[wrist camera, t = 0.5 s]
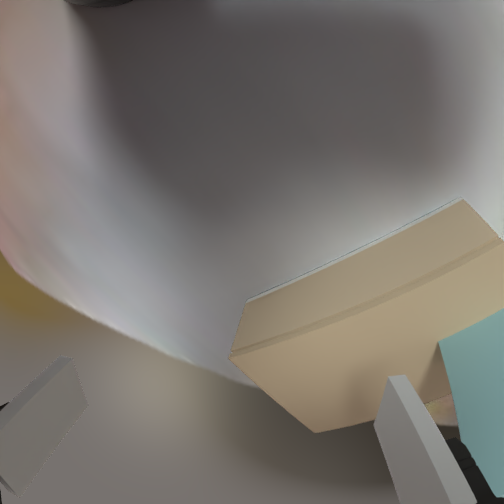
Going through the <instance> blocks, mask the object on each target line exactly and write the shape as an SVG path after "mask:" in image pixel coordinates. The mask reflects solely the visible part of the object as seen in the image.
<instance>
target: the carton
mask: <svg viewBox="0 0 504 504" xmlns="http://www.w3.org/2000/svg"><path fill="white" fill-rule="evenodd" d="M497 239H499V238H498V235H497V234H496V232H495V231H494V230H493V229H492V228H491V227H490V226H489V225H488V224H487V223H486V222H485V221H484V220H483V218H482V217H481V216H480V215H479V214H478V213H477V212H476V211H475V210H474V209H473V208H472V207H471V206H470V205H469V204H468V203H467V202H466V201H465V200H463V199H462V198H461V197H459V198H457V199H455V200H454V201H452V202H450V203H448V204H446V205H444V206H442V207H440V208H439V209H437V210H435V211H433V212H431V213H429V214H427V215H425V216H423V217H421V218H419V219H417V220H415V221H414V222H412V223H410V224H408V225H406V226H404V227H402V228H400V229H398V230H396V231H394V232H392V233H390V234H388V235H386V236H384V237H382V238H380V239H378V240H376V241H374V242H372V243H369V244H367V245H365V246H363V247H361V248H359V249H357V250H355V251H353V252H351V253H349V254H347V255H345V256H342V257H340V258H338V259H336V260H334V261H332V262H330V263H328V264H325V265H323V266H321V267H319V268H317V269H315V270H313V271H310V272H308V273H306V274H304V275H302V276H299V277H297V278H295V279H293V280H291V281H288V282H286V283H284V284H282V285H279V286H277V287H275V288H273V289H270V290H268V291H266V292H264V293H261V294H259V295H257V296H254V297H252V298H250V299H248V300H247V301H246V304H245V307H244V310H243V313H242V317H241V320H240V323H239V326H238V329H237V332H236V336H235V339H234V342H233V345H232V348H231V351H232V352H236V351H240V350H243V349H246V348H249V347H252V346H255V345H258V344H261V343H265V342H268V341H271V340H273V339H276V338H279V337H282V336H285V335H288V334H291V333H294V332H296V331H299V330H302V329H305V328H307V327H310V326H313V325H315V324H318V323H321V322H323V321H326V320H329V319H331V318H334V317H336V316H339V315H341V314H344V313H346V312H349V311H351V310H354V309H356V308H358V307H361V306H363V305H366V304H368V303H370V302H373V301H375V300H377V299H380V298H382V297H384V296H386V295H389V294H391V293H393V292H395V291H398V290H400V289H402V288H404V287H406V286H408V285H411V284H413V283H415V282H417V281H419V280H421V279H423V278H425V277H427V276H429V275H431V274H433V273H435V272H437V271H439V270H441V269H443V268H445V267H447V266H449V265H451V264H453V263H455V262H457V261H459V260H461V259H463V258H465V257H466V256H468V255H470V254H472V253H474V252H476V251H477V250H479V249H481V248H483V247H485V246H486V245H488V244H490V243H492V242H493V241H495V240H497Z"/></svg>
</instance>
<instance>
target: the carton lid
mask: <svg viewBox="0 0 504 504" xmlns="http://www.w3.org/2000/svg"><path fill="white" fill-rule="evenodd" d="M228 359H229V360H230V361H231V362H232V363H233V364H234V365H236V366H237V367H238V368H239V369H240V370H241V371H242V372H243V373H244V374H245V375H246V376H248V377H249V378H250V379H251V380H252V381H253V382H254V383H255V384H256V385H258V386H259V387H260V388H261V389H262V390H263V391H264V392H266V393H267V394H268V395H269V396H270V397H271V398H273V399H274V400H275V401H276V402H277V403H278V404H280V405H281V406H282V407H283V408H284V409H286V410H287V411H288V412H289V413H290V414H292V415H293V416H294V417H295V418H297V419H298V420H299V421H300V422H301V423H303V424H304V425H305V426H306V427H308V428H309V429H310V430H311V431H313V432H314V433H318V432H323V431H329V430H333V429H338V428H343V427H347V426H352V425H356V424H360V423H364V422H367V421H371V420H375V419H376V416H377V413H378V410H379V407H380V403H381V400H382V397H383V393H384V390H385V386H386V383H387V379H388V376H396V375H404V374H405V375H406V377H407V378H408V380H409V381H410V383H411V385H412V386H413V388H414V389H415V391H416V393H417V394H418V396H419V397H420V399H421V401H422V402H423V404H425V403H428V402H431V401H433V400H436V399H439V398H441V397H444V396H446V395H449V394H451V393H452V397H453V401H454V406H455V410H456V415H457V420H458V426H459V431H460V437H461V442H462V443H463V444H465V445H466V447H467V448H468V450H469V452H470V453H471V455H472V456H471V457H473V458H474V460H475V462H476V466H477V465H478V467H479V469H480V470H481V472H482V474H483V476H484V477H485V479H486V481H487V483H488V485H489V486H490V488H491V490H492V492H493V493H494V495H495V496H496V497H503V498H504V241H503V240H502V239H501V238H499V239H497V240H495V241H493V242H492V243H490V244H488V245H486V246H485V247H483V248H481V249H479V250H477V251H476V252H474V253H472V254H470V255H468V256H466V257H465V258H463V259H461V260H459V261H457V262H455V263H453V264H451V265H449V266H447V267H445V268H443V269H441V270H439V271H437V272H435V273H433V274H431V275H429V276H427V277H425V278H423V279H421V280H419V281H417V282H415V283H413V284H411V285H408V286H406V287H404V288H402V289H400V290H398V291H395V292H393V293H391V294H389V295H386V296H384V297H382V298H380V299H377V300H375V301H373V302H370V303H368V304H366V305H363V306H361V307H358V308H356V309H354V310H351V311H349V312H346V313H344V314H341V315H339V316H336V317H334V318H331V319H329V320H326V321H323V322H321V323H318V324H315V325H313V326H310V327H307V328H305V329H302V330H299V331H296V332H294V333H291V334H288V335H285V336H282V337H279V338H276V339H273V340H271V341H268V342H265V343H261V344H258V345H255V346H252V347H249V348H246V349H243V350H240V351H236V352H233V353H230V354H229V358H228Z"/></svg>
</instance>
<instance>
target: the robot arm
mask: <svg viewBox="0 0 504 504" xmlns="http://www.w3.org/2000/svg"><path fill="white" fill-rule="evenodd" d="M64 1H67V2H70V3H73V4H79V5H85V6H91V7H109V6H115V5H119V4H123V3H126V2H129V1H132V0H64ZM87 406H88V402H87V400H86V397H85V394H84V392H83V389H82V386H81V383H80V380H79V377H78V374H77V371H76V368H75V365H74V361H73V358H69V357H65V356H59V357H58V358H57V359H56V360H55V361H54V362H52V364H50V365H49V366H48V367H47V368H46V369H45V370H44V371H43V372H42V373H40V374H39V375H38V376H37V377H36V378H35V379H34V380H33V381H32V382H30V383H29V384H28V385H27V386H26V387H25V388H24V389H23V390H22V391H21V392H20V393H19V394H18V395H17V396H16V397H14V398H13V400H12V401H10V402H8V403H6V404H4V405H2V406H0V482H1V483H2V484H3V485H4V486H5V488H6V489H7V490H9V491H10V492H12V493H13V494H15V495H16V496H18V497H19V498H20V497H21V496H22V495H23V493H24V492H25V490H26V489H27V487H28V486H29V485H30V483H31V482H32V480H33V479H34V478H35V476H36V475H37V473H38V472H39V471H40V469H41V468H42V467H43V465H44V463H45V462H46V461H47V460H48V458H49V457H50V455H51V454H52V453H53V451H54V450H55V449H56V447H57V446H58V445H59V443H60V442H61V441H62V439H63V438H64V437H65V435H66V434H67V433H68V431H69V430H70V429H71V428H72V426H73V425H74V423H75V422H76V421H77V420H78V418H79V417H80V416H81V414H82V413H83V412H84V410H85V409H86V408H87ZM374 428H375V431H376V433H377V436H378V439H379V441H380V445H381V447H382V450H383V453H384V456H385V459H386V461H387V465H388V467H389V470H390V473H391V476H392V479H393V482H394V485H395V488H396V491H397V495H398V498H399V501H400V504H504V498H503V497H496V496H495V495H494V493H493V492H492V490H491V488H490V486H489V485H488V483H487V481H486V479H485V477H484V476H483V474H482V472H481V470H480V469H479V467H478V465H477V466H476V462H475V460H474V458H473V457H471V456H472V455H471V453H470V452H469V450H468V448H467V447H466V445H465V444H463V443H462V442H461V441H459V440H458V439H457V438H452V439H448V440H444V438H443V436H442V435H441V433H440V431H439V430H438V428H437V426H436V424H435V423H434V421H433V419H432V417H431V416H430V414H429V412H428V411H427V409H426V407H425V406H424V404H423V402H422V401H421V399H420V397H419V396H418V394H417V393H416V391H415V389H414V388H413V386H412V385H411V383H410V381H409V380H408V378H407V377H406V375H405V374H404V375H396V376H388V379H387V383H386V386H385V390H384V393H383V397H382V400H381V403H380V407H379V410H378V413H377V416H376V419H375V422H374ZM0 504H2V501H1V491H0Z"/></svg>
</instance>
